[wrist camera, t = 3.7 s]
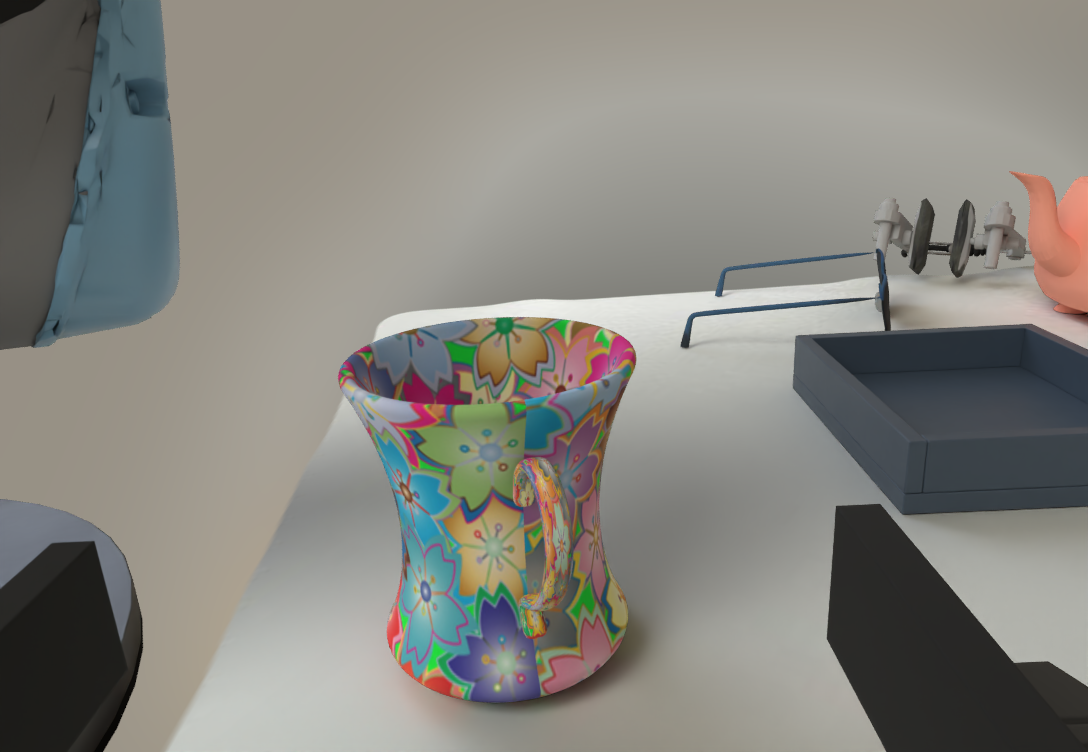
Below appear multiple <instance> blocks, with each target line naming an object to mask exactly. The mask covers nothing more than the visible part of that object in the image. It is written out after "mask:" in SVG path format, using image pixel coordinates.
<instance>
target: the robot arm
mask: <svg viewBox="0 0 1088 752" xmlns="http://www.w3.org/2000/svg"><path fill="white" fill-rule="evenodd" d="M165 68H166V67H165V44H164V34H163V22H162V11H161V1H160V0H0V350H2V349H10V348H19V347H27V346H32V347H33V348H36V347H44V346H50V345H51V344H53V343H55V341H56V340H57V339H61V338H66V337H72V336H77V335H83V334H88V333H93V332H99V331H103V330H109V329H115V328H120V327H125V326H131V325H135V324H139V323H141V322H143V321H145V320H147V319H149V318H151V316H153V315H154V314H156V313H158V312H159V311H161V310H162V309H163V308H164V307H165V306H166V305H167V304H168V303H169V301H170V299H171V298H172V296H173V295H174V293H175V291H176V288H177V285H178V280H179V266H180V259H179V231H178V211H177V199H176V198H177V197H176V183H175V169H174V155H173V145H172V133H171V122H170V114H169V110H168V102H167V99H168V89H167V78H166V69H165ZM827 640H828V642H829V644H830V646H831V648H832V650H833V651H834V653H835V655H836V657H837V659H838V661H839V663H840V665H841V667H842V668H843V670H844V672H845V674H846V676H847V678H848V680H849V682H850V684H851V685H852V687H853V689H854V691H855V693H856V695H857V697H858V699H859V701H860V703H861V704H862V706H863V708H864V710H865V712H866V714H867V716H868V718H869V720H870V721H871V723H872V725H873V727H874V729H875V731H876V733H877V735H878V737H879V738H880V740H881V742H882V744H883V746H884V748H885V750H886V752H1088V687H1087V686H1086V685H1084V684H1083V683H1081V682H1080V681H1078V680H1076V679H1075V678H1073V677H1072V676H1070V675H1069V674H1067V673H1065V672H1064V671H1062V670H1061V669H1059V668H1058V667H1056V666H1055V665H1053V664H1051V663H1050V662H1048V661H1047V662H1024V663H1013V661H1012V660H1011V659H1010V658H1009V657H1008V655H1007V654H1006V653H1005V652H1004V651H1003V649H1002V648H1001V647H1000V646H999V645H998V644H997V642H996V641H995V640H994V639H993V638H992V636H991V635H990V634H989V633H988V632H987V630H986V629H985V628H984V627H983V626H982V624H981V623H980V622H979V621H978V620H977V619H976V617H975V616H974V615H973V614H972V613H971V611H970V610H969V609H968V608H967V607H966V605H965V604H964V603H963V602H962V601H961V600H960V598H959V597H958V596H957V595H956V594H955V592H954V591H953V590H952V589H951V588H950V586H949V585H948V584H947V583H946V582H945V581H944V579H943V578H942V577H941V576H940V575H939V573H938V572H937V571H936V570H935V569H934V567H933V566H932V565H931V564H930V563H929V561H928V560H927V559H926V558H925V557H924V556H923V554H922V553H921V552H920V551H919V550H918V548H917V547H916V546H915V545H914V544H913V542H912V541H911V540H910V539H909V538H908V537H907V535H906V534H905V533H904V532H903V531H902V529H901V528H900V527H899V526H898V525H897V523H896V522H895V521H894V520H893V519H892V517H891V516H890V515H889V514H888V513H887V512H886V510H885V509H884V508H883V507H882V506H881V504H869V505H848V506H836V515H835V529H834V543H833V558H832V572H831V586H830V601H829V615H828V629H827ZM127 671H128V667H127V663H126V659H125V655H124V651H123V648H122V644H121V640H120V636H119V632H118V629H117V625H116V621H115V617H114V613H113V610H112V606H111V602H110V598H109V594H108V591H107V587H106V583H105V579H104V575H103V571H102V568H101V564H100V560H99V556H98V552H97V549H96V545H95V541H81V542H60V543H51V544H50V545H49V546H48V547H47V548H46V549H44V550H43V551H42V552H41V553H40V554H39V555H38V556H37V557H35V558H34V559H33V560H32V561H31V562H30V563H29V564H28V565H26V566H25V567H24V568H23V569H22V570H21V571H20V572H19V573H17V574H16V575H15V576H14V577H13V578H12V579H11V580H10V581H8V582H7V583H6V584H5V585H4V586H3V587H2V588H1V589H0V752H68V750H69V749H70V748H71V746H72V745H73V744H74V742H75V741H76V740H77V738H78V737H79V736H80V734H81V733H82V731H83V730H84V729H85V727H86V726H87V725H88V723H89V722H90V721H91V719H92V718H93V717H94V715H95V714H96V713H97V711H98V710H99V708H100V707H101V706H102V704H103V703H104V702H105V700H106V699H107V698H108V696H109V695H110V694H111V692H112V691H113V690H114V688H115V687H116V685H117V684H118V683H119V681H120V680H121V679H122V677H123V676H124V675H125V673H126V672H127Z"/></svg>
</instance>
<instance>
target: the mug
mask: <svg viewBox="0 0 1088 752" xmlns="http://www.w3.org/2000/svg"><path fill="white" fill-rule="evenodd" d="M635 365H636V353H635V350H634V348H633V346H632V345H631V344H630V342H629V341H627V340H626V339H625V338H624V337H622V336H621V335H619V334H617V333H615V332H613V331H611V330H608V329H605V328H603V327H599V326H596V325H592V324H587V323H582V322H577V321H570V320H562V319H552V318H535V317H503V318H484V319H473V320H463V321H456V322H448V323H442V324H436V325H431V326H426V327H421V328H417V329H413V330H409V331H405V332H401V333H398V334H395V335H392V336H389V337H386V338H383V339H380V340H378V341H375V342H373V343H371V344H369V345H367V346H365V347H363V348H361V349H360V350H358V351H356V352H355V353H354V354H353V355H351V356H350V357H349V358H348V359H347V360H346V361H345V362H344V363H343V365H342V366H341V368H340V371H339V375H338V380H339V385H340V388H341V390H342V392H343V393H344V395H345V396H346V398H347V399H348V400H349V402H350V403H351V405H352V406H353V408H354V410H355V411H356V413H357V414H358V416H359V418H360V419H361V421H362V423H363V424H364V426H365V428H366V430H367V431H368V433H369V435H370V437H371V439H372V441H373V443H374V445H375V447H376V449H377V452H378V454H379V456H380V458H381V460H382V462H383V465H384V468H385V470H386V473H387V475H388V478H389V481H390V484H391V487H392V491H393V494H394V498H395V502H396V506H397V510H398V515H399V520H400V526H401V535H402V573H401V580H400V586H399V590H398V594H397V597H396V600H395V602H394V604H393V606H392V609H391V611H390V614H389V618H388V624H387V639H388V643H389V647H390V649H391V651H392V654H393V656H394V658H395V659H396V661H397V662H398V664H399V665H400V666H401V668H402V669H403V670H404V671H405V672H406V673H407V674H409V675H410V676H411V677H412V678H414V679H415V680H416V681H418V682H419V683H421V684H422V685H424V686H426V687H428V688H430V689H432V690H434V691H436V692H439V693H441V694H444V695H447V696H450V697H454V698H458V699H463V700H469V701H476V702H515V701H523V700H529V699H534V698H539V697H543V696H546V695H550V694H553V693H556V692H558V691H561V690H564V689H566V688H568V687H571V686H573V685H575V684H577V683H579V682H580V681H582V680H584V679H586V678H587V677H589V676H590V675H591V674H593V673H594V672H596V671H597V670H598V669H599V668H600V667H602V666H603V665H604V664H605V663H606V662H607V661H608V660H609V658H610V657H611V656H612V655H613V654H614V653H615V651H616V650H617V648H618V647H619V645H620V643H621V642H622V639H623V637H624V635H625V631H626V627H627V623H628V607H627V603H626V599H625V597H624V594H623V592H622V590H621V588H620V586H619V585H618V583H617V582H616V580H615V579H614V577H613V575H612V572H611V570H610V568H609V565H608V562H607V559H606V556H605V552H604V548H603V543H602V537H601V529H600V518H599V493H600V481H601V472H602V466H603V459H604V454H605V449H606V445H607V441H608V437H609V434H610V430H611V426H612V423H613V420H614V417H615V414H616V411H617V409H618V406H619V403H620V400H621V398H622V395H623V393H624V391H625V388H626V386H627V384H628V381H629V379H630V377H631V375H632V373H633V371H634V368H635Z"/></svg>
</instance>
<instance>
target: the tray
mask: <svg viewBox="0 0 1088 752" xmlns="http://www.w3.org/2000/svg"><path fill="white" fill-rule="evenodd" d="M793 388H794V390H795V391H796V392H797V393H798V394H799V395H800V397H801V398H802V399H803V400H804V401H805V402H806V403H807V405H808V406H809V407H810V408H811V409H812V410H813V412H814V413H815V414H816V415H817V416H818V417H819V419H820V420H821V421H822V422H823V423H824V424H825V425H826V427H827V428H828V429H829V430H830V431H831V432H832V434H833V435H834V436H835V437H836V438H837V439H838V440H839V442H840V443H841V444H842V445H843V446H844V447H845V449H846V450H847V451H848V452H849V453H850V454H851V455H852V457H853V458H854V459H855V460H856V461H857V462H858V464H859V465H860V466H861V467H862V468H863V469H864V470H865V472H866V473H867V474H868V475H869V476H870V477H871V479H872V480H873V481H874V482H875V483H876V484H877V485H878V487H879V488H880V489H881V490H882V491H883V492H884V494H885V495H886V496H887V497H888V498H889V499H890V500H891V502H892V503H893V504H894V505H895V506H896V507H897V509H898V510H899V511H900V512H901V513H902V514H919V513H941V512H963V511H985V510H1008V509H1030V508H1052V507H1074V506H1088V350H1087V349H1085V348H1083V347H1081V346H1078V345H1076V344H1074V343H1072V342H1070V341H1068V340H1065V339H1063V338H1061V337H1059V336H1057V335H1054V334H1052V333H1050V332H1048V331H1046V330H1044V329H1041V328H1039V327H1037V326H1035V325H1033V324H1020V325H1000V326H979V327H959V328H938V329H918V330H898V331H877V332H857V333H836V334H816V335H798V336H796V339H795V358H794V375H793Z"/></svg>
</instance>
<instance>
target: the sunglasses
mask: <svg viewBox="0 0 1088 752" xmlns="http://www.w3.org/2000/svg"><path fill="white" fill-rule="evenodd" d="M879 251H880V252H879ZM875 253H876V254H877V265H878V271H879V279H880V283H879V292H878V293H876V295H875V298H850V299H835V300H822V301H810V302H798V303H786V304H775V305H764V306H753V307H742V308H732V309H721V310H711V311H703V312H696V313H693V314H691V315H690V316H689V318H688V320H687V324H686V327H685V331H684V334H683V338H682V342H681V347H684V348H688V347H689V342H690V335H691V328H692V322H693V319H694V318H695V317H700V316H709V315H720V314H731V313H742V312H753V311H764V310H775V309H786V308H797V307H808V306H819V305H829V304H839V303H848V302H856V301H864V300H870V299H875V305H876V309H877V310H878V311H879V312H882V313H883V319H884V326H885V331H891V325H890V311H889V289H888V282H887V276H886V269H885V261H884V254H883V252H882V250H881V249H879V248H878V249H876V252H875ZM865 254H871V253H854V254H842V255H832V256H823V257H822V256H821V257H812V258H802V259H793V260H784V261H776V262H767V263H758V264H749V265H741V266H733V267H727V268H725V269H724V270H723V271H722V273H721V276H720V279H719V283H718V286H717V290H716V294H715V296H722V292H723V285H724V279H725V273H726V272H727V271H731V270H739V269H748V268H756V267H766V266H775V265H783V264H792V263H802V262H811V261H820V260H829V259H837V258H845V257H852V256H860V255H865Z"/></svg>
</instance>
